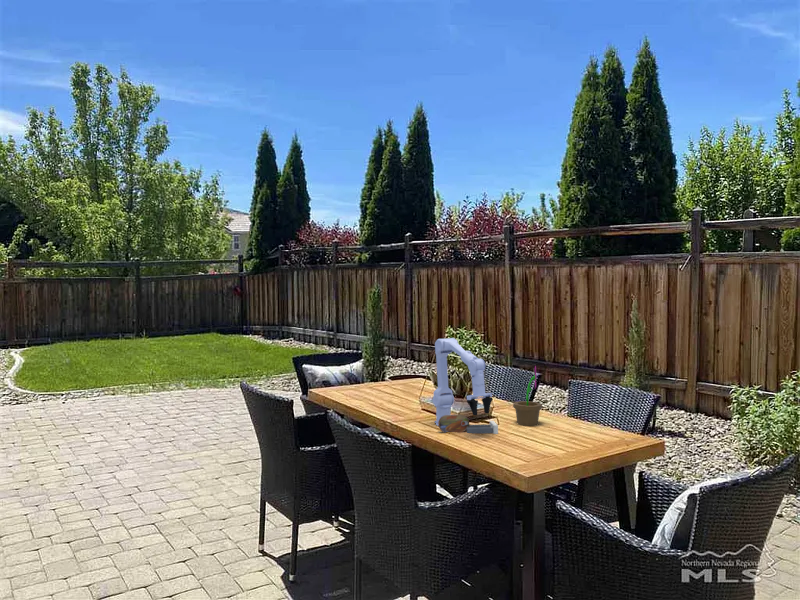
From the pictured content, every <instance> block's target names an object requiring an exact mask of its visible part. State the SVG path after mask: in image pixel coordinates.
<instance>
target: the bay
mask: <svg viewBox="0 0 800 600" xmlns="http://www.w3.org/2000/svg"><path fill="white" fill-rule="evenodd" d="M467 433H472V434H493V435H498V434H499V424H498V423H496V422H495V420H489V424H488V423H487V424H469V427H468V428H467V430H466V434H467Z"/></svg>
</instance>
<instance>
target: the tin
mask: <svg viewBox="0 0 800 600" xmlns="http://www.w3.org/2000/svg"><path fill="white" fill-rule="evenodd" d="M438 425H439V426H438V427H439V430H440V431H441V432H443V433H445V434H447V433H446V432H457V433H464V432H465V431H466V432H467V428H468V427H469V425H470V420H469V418H468V417H467V416H466V415H464V414H451V415H444V416H442V417H441V418H440V419H439V422H438Z"/></svg>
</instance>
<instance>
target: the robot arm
mask: <svg viewBox="0 0 800 600" xmlns="http://www.w3.org/2000/svg"><path fill="white" fill-rule="evenodd" d="M434 349H435V350H434V351H435V353H434V354H435V358H436V360H435V361H436V362H435V363H436V374H437V376H436V377H437V388H436V389H435V390H434V391H433V396H432V404H433V405H434V407H435V409H436V413H435V417H436V418H435V419H436V420H434V423H436V424H435V426H436V425H437V427H439V425H438V422H439V419H440V418H441V417H442V416H444V415H452V414H451V407H453V406H452V405H454V403H455V396H454V394H453V390H452V389H451V388H450V387H449V374H448V356H449V354H451V353H455V354H457V356H459V357H460V360H461V361H462V362H463V363H464V364H465V365H466V366H467V368H468V370H469V372H470V373H469V375H470V376H471V384H472V385H471V386H472V394H469V395H466V403H467V404H468V406H469V408H470V411H471V413H472V415H473V416H478V404H479V399H480V400H481V401H482V405H483V411H484V414H489V413H490V407H491V404H492V401H493V395H492V394H493V393H492V392H486V386H485V373H484V371H485V369H486V362H485V360H484V359H483V358H478V357H477V356H476V355H474V354H473V353H472V351H471V350H465V349H464V348H463V347H462V346H461V345H460V344H459V342H458V340H457V339H456V338H455V337H449V338H447V337H446V338H438V339H436V341H435V342H434Z"/></svg>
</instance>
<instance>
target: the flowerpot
mask: <svg viewBox="0 0 800 600" xmlns="http://www.w3.org/2000/svg"><path fill="white" fill-rule="evenodd" d="M533 381H534V389H535V390H536V388H537V366H536V365H535V366H534V375H533V376H532V377H531V378H530V380H529V382H528V385H527V389H526V396H525V400H526V401H524V400H523V401H514V403H513V404H512V405H513V406H512V408H513V409H515V415H516V423H518V424H517V425H518V426H522V425H523V426H524V427H534V425H536V426H538V425H539V418H540V411H541V410H542V409H543V404H542V403H541V402H538V401H537V402H536V401H531V400H530V401H529V393H530V392H532V391H533V390H532V388H531V384H532V382H533ZM537 424H538V425H537Z"/></svg>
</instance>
